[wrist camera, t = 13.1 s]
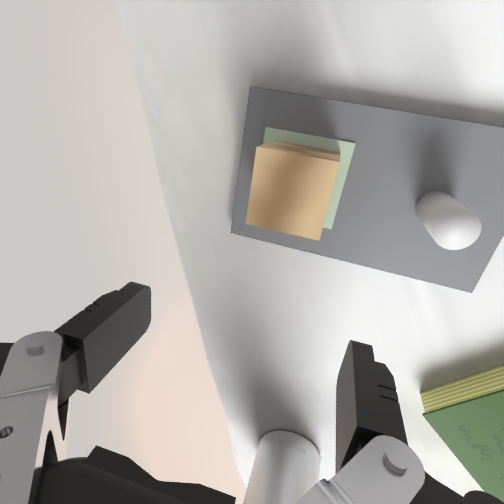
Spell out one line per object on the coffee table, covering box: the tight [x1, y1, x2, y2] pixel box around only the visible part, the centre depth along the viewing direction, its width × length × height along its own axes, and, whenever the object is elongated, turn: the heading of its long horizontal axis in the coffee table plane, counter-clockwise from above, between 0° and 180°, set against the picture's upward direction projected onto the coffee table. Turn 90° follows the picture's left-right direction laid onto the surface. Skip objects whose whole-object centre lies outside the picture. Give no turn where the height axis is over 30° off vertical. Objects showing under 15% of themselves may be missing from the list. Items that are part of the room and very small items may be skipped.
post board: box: [231, 86, 504, 293], centre depth 26 cm, size 14×24×8 cm, turn 82°
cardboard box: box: [246, 140, 341, 241], centre depth 26 cm, size 6×6×6 cm
